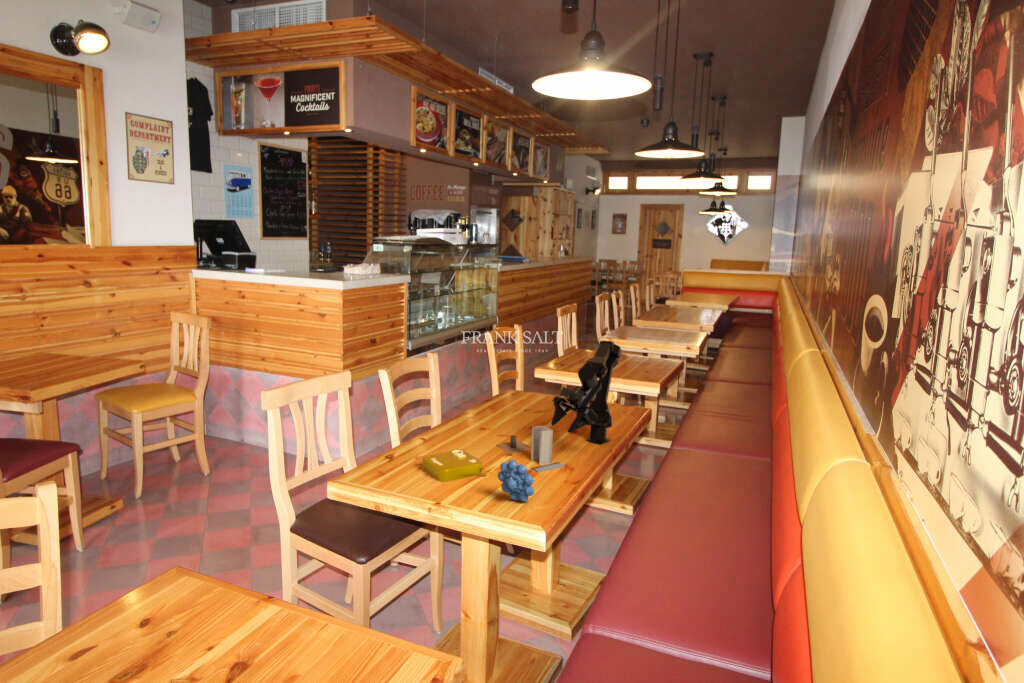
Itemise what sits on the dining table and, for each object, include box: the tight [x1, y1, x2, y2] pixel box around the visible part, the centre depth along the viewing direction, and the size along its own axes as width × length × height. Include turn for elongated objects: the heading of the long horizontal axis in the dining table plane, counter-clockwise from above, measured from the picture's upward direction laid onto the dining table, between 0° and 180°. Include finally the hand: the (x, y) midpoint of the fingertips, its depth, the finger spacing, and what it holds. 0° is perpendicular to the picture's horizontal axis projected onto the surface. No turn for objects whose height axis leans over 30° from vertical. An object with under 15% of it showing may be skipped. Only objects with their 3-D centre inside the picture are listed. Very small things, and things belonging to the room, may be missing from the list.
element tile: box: [422, 449, 483, 483], centre depth 196 cm, size 15×15×5 cm
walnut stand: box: [495, 435, 532, 454], centre depth 218 cm, size 10×10×5 cm
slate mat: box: [530, 461, 565, 473], centre depth 204 cm, size 11×11×1 cm
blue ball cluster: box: [497, 459, 535, 503], centre depth 173 cm, size 12×7×12 cm, turn 62°
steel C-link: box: [530, 425, 554, 467], centre depth 203 cm, size 4×6×12 cm
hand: (560, 428), depth 207 cm, fingers open, 9 cm apart
